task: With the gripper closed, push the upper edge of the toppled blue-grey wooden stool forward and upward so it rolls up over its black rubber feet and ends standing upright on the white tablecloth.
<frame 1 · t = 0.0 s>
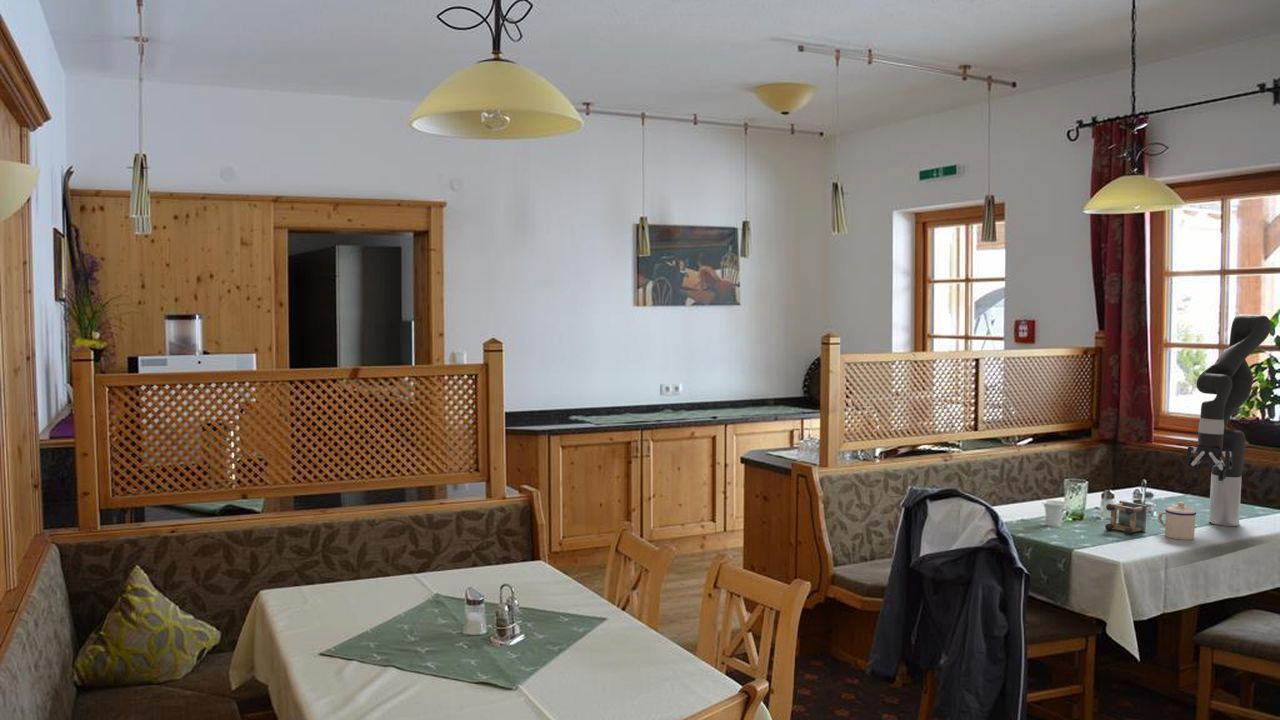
hand: (1207, 478, 351), 17 cm above the table, tool pointing down, fingers open, 8 cm apart
stool: (1132, 529, 350), on the table
teacup with lid: (1175, 536, 341), on the table
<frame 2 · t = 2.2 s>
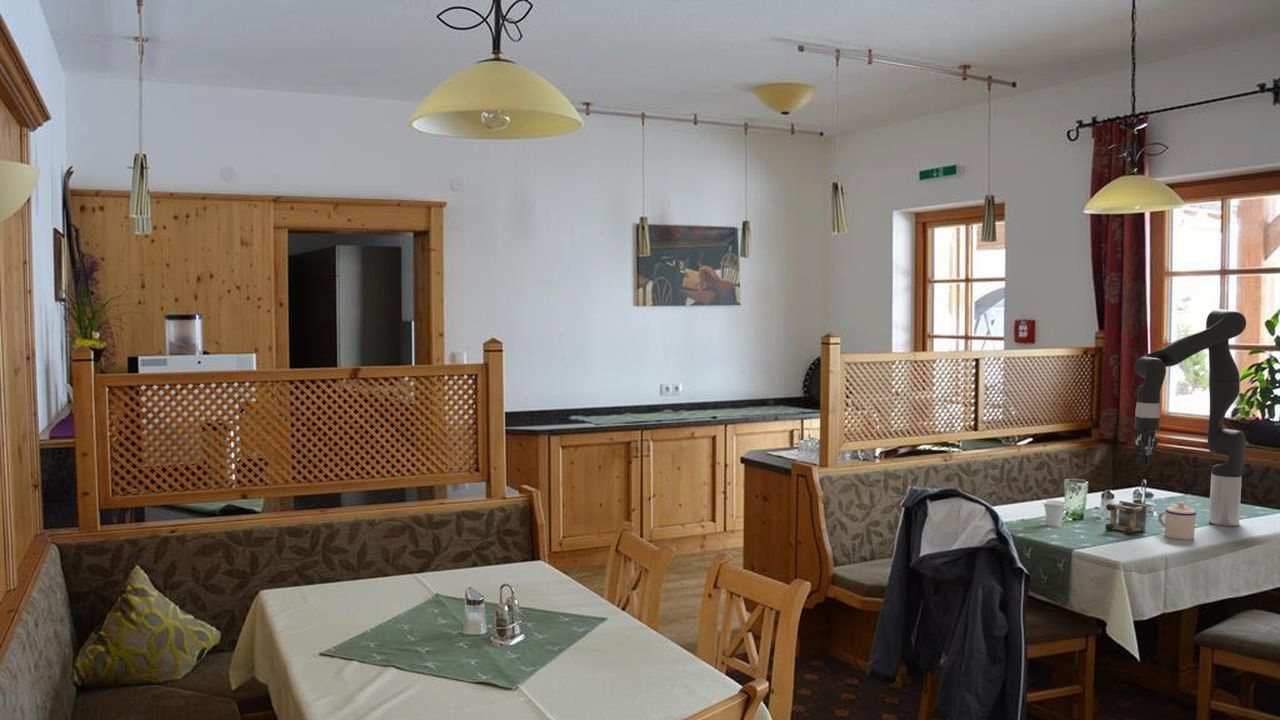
hand: (1145, 465, 352), 21 cm above the table, tool pointing down, fingers closed
nothing on the table moved.
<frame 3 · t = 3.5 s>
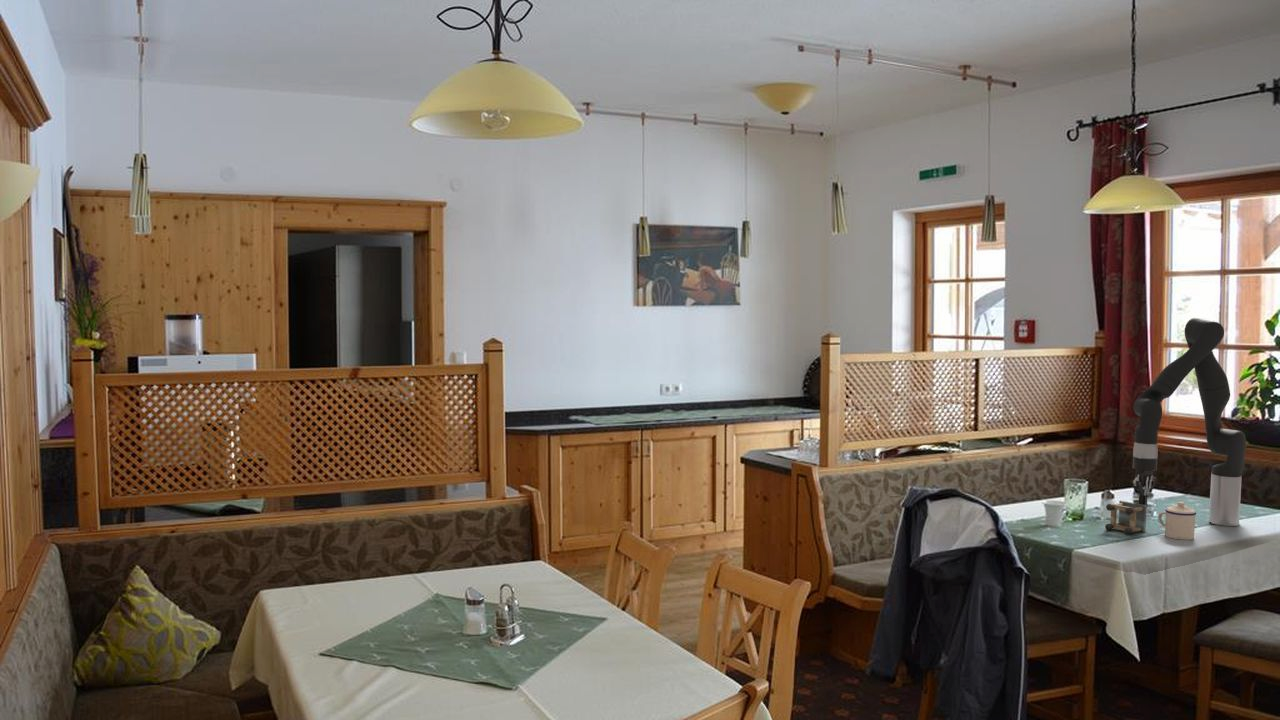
hand: (1142, 505, 353), 7 cm above the table, tool pointing down, fingers closed
nothing on the table moved.
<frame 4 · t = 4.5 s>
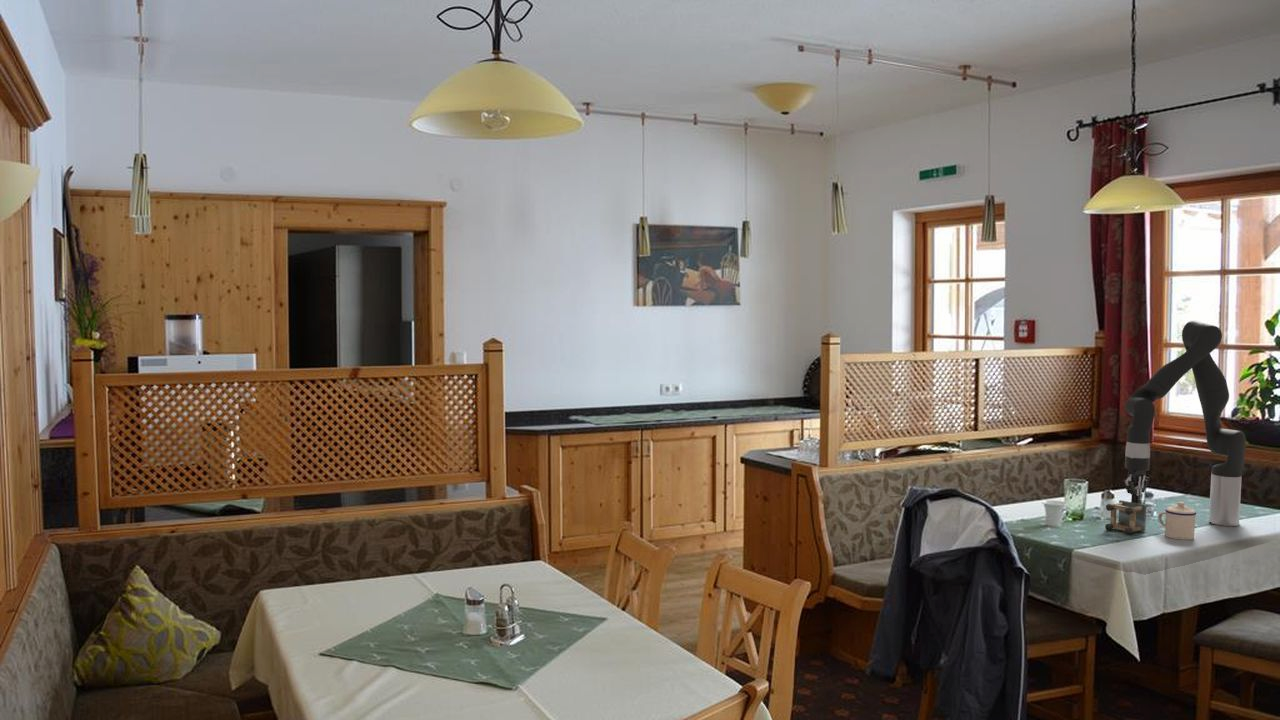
hand: (1135, 505, 350), 8 cm above the table, tool pointing down, fingers closed
stool: (1132, 528, 350), on the table, touching gripper
everything else where it was.
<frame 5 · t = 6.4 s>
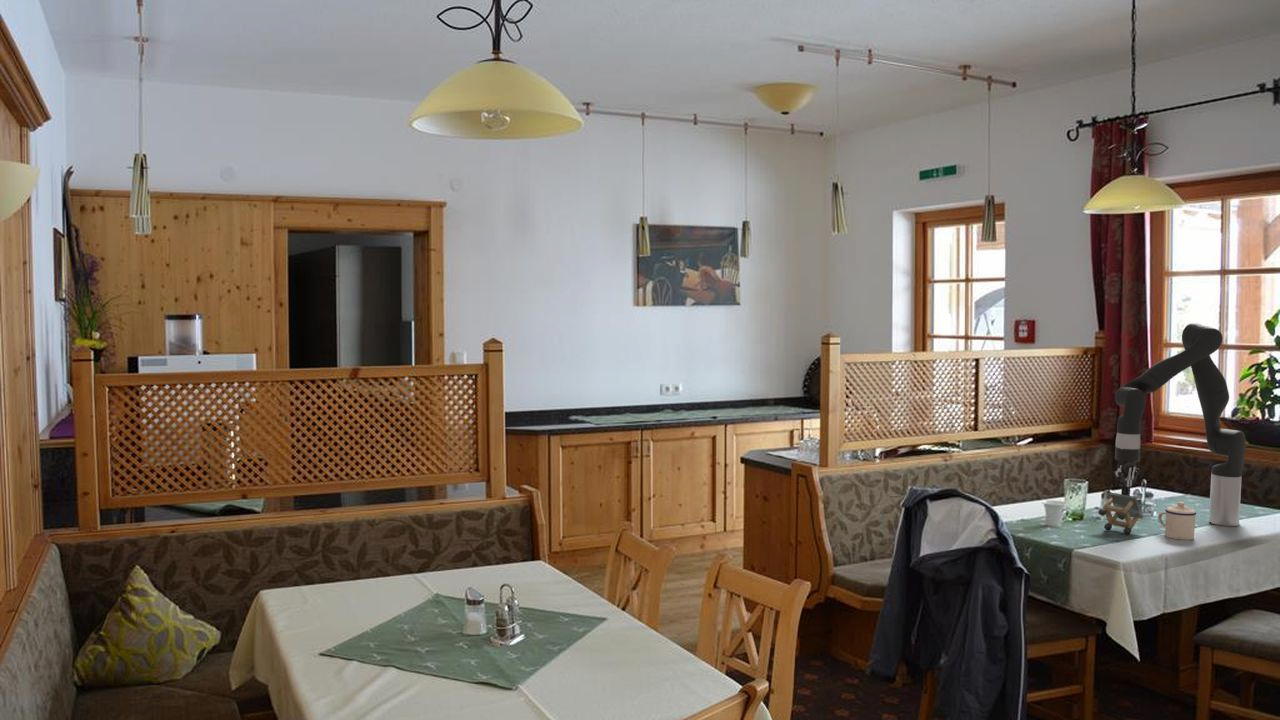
hand: (1125, 497, 346), 12 cm above the table, tool pointing down, fingers closed
stool: (1130, 514, 349), point 5 cm above the table, tilted 35°, touching gripper
everything else where it was.
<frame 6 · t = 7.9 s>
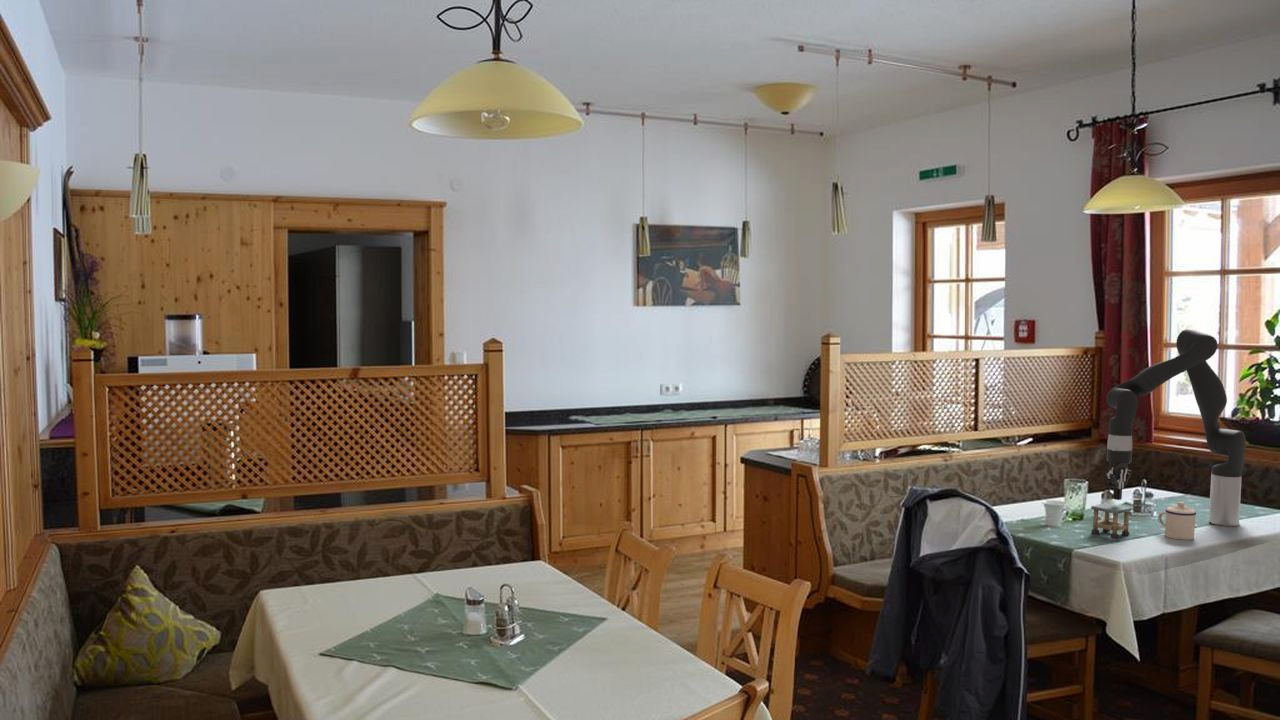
hand: (1117, 499, 343), 11 cm above the table, tool pointing down, fingers closed
stool: (1118, 505, 344), point 9 cm above the table, tilted 90°
everything else where it was.
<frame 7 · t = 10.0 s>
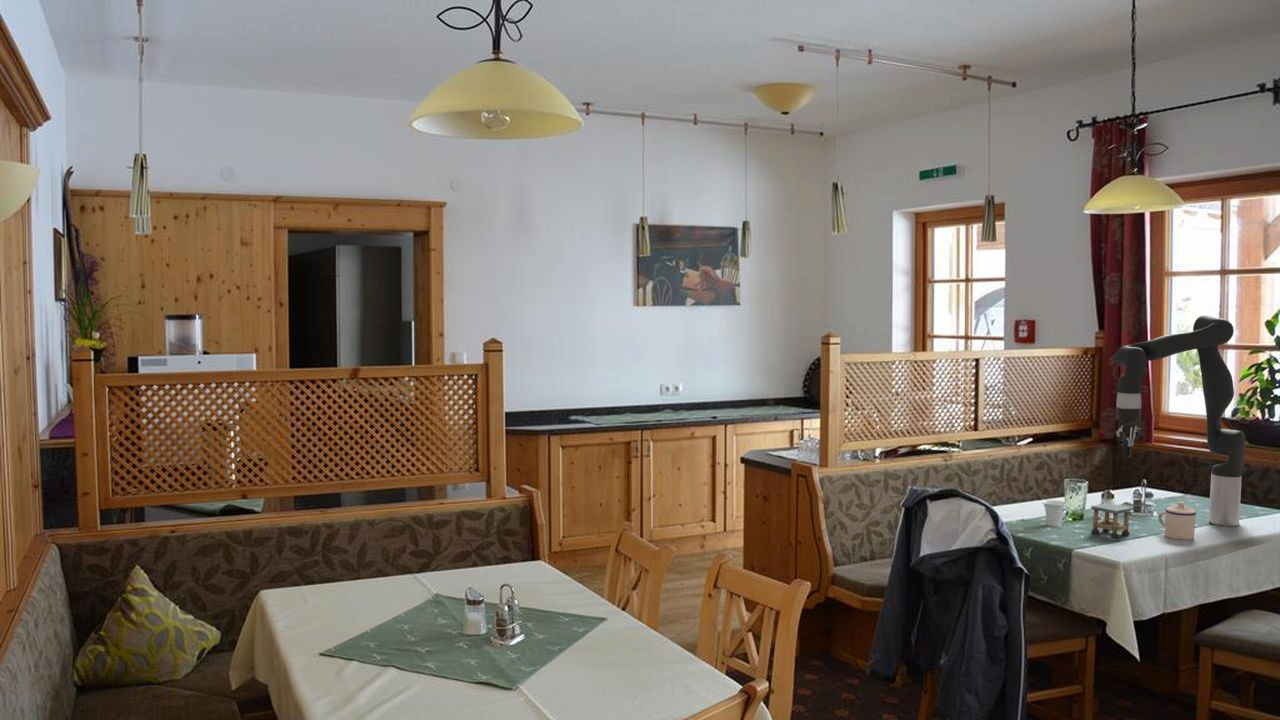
hand: (1126, 457, 346), 25 cm above the table, tool pointing down, fingers closed
nothing on the table moved.
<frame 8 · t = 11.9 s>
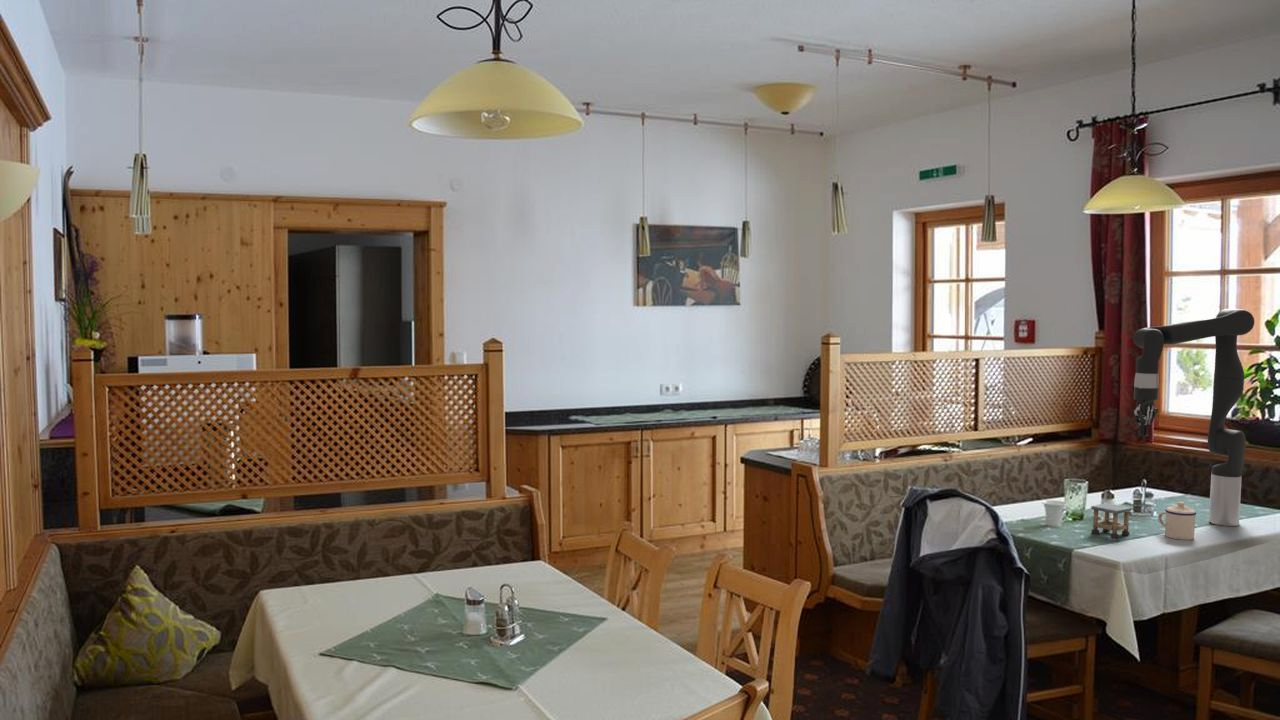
hand: (1143, 435, 356), 31 cm above the table, tool pointing down, fingers closed
nothing on the table moved.
at the end: stool inside the target area (3.8 cm from its centre), point 9.2 cm above the table; stool tilted 90°; the gripper is holding nothing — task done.
